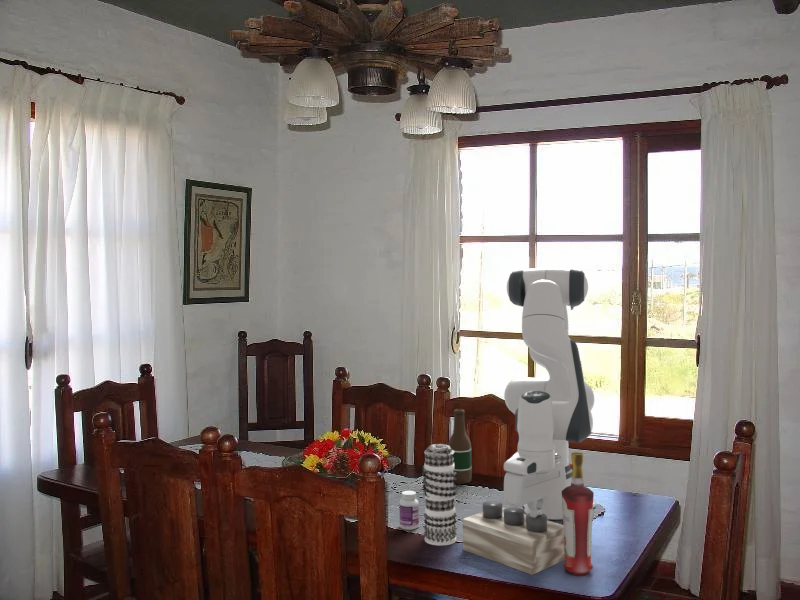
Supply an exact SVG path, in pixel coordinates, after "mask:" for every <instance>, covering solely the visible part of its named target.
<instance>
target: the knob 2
mask: <svg viewBox="0 0 800 600" xmlns="http://www.w3.org/2000/svg"><path fill="white" fill-rule="evenodd" d="M505 508H506V509H504V523H505V524H507V525H510V526H520V525H523V524H524V514H525V511H524V509H523V508H520V507H515V506H511V507H505Z"/></svg>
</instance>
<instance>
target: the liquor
mask: <svg viewBox="0 0 800 600" xmlns="http://www.w3.org/2000/svg"><path fill="white" fill-rule="evenodd" d="M571 462H572V466H573V468H572V469H571V471H572V479H571V486H568V487H566V488H565V489H563V490H562V511H563V519H562V521H563V522H562V523H563V524H562V525H564V544H565V560H564V561H563V563H562V565H563V567H564V569H565V570H566V571H567V572H569V574H571V575H575V576H585V575H587V574H588V573H589V572H591V571H592V569H593V568H594V566H593V563H592V543H591V541H592V536H593V534H592V533H593V519H594V518H593V517H594V508H593V502H594V495H595V494H594V491H593V490H591V489H590V487H587V486H585V483H584V473H583V471H584V470H583V465H584V453H583V452H576V451H575V452H571Z"/></svg>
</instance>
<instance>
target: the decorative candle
mask: <svg viewBox="0 0 800 600" xmlns="http://www.w3.org/2000/svg"><path fill="white" fill-rule="evenodd" d="M423 452H424V465H423V466H422V467H421V469H422V472H421V475H422V477H423V479H422V483H423V485H422V489H423V490H424V492H423V497H424V499H425V507H424V514H423V516H424V520H423V521H424V524H425V525H424V526H423V529H424V532H423V534H424V542H425V543H427V544H429V545H432V546H439V547H441V546H450V545H453V544H454V543H456V542H457V541H458V540H457V536H458V533H457V529H458V528H457V525H456V523H457V522H458V521H457V519H456V518H457V516H458V515H457V513H456V506H455V498H456V497H457V492H456V489H457V486H456V484H454V482H456V481H457V479H456V478H455V477H454V476H456V475H457V473H456V472H455V471H453V470H454V462H453V459H454V457H453V454H454V453H455V451H454V450H452V449H451V447H450V446H448V444H446V443H445V444H444V443H434V444H431V445H429V446H427V448H426V449H425V450H424V451H423Z"/></svg>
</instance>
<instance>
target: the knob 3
mask: <svg viewBox="0 0 800 600" xmlns="http://www.w3.org/2000/svg"><path fill="white" fill-rule="evenodd" d="M526 514H527V513H526ZM547 521H548V519H547V515H545V514H543V515H541V516H539V517H536V518H533V517H531V516H530V513H529V514H527V515H526V529H527V530H529V531H533V532H543V531H546V530H547Z"/></svg>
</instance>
